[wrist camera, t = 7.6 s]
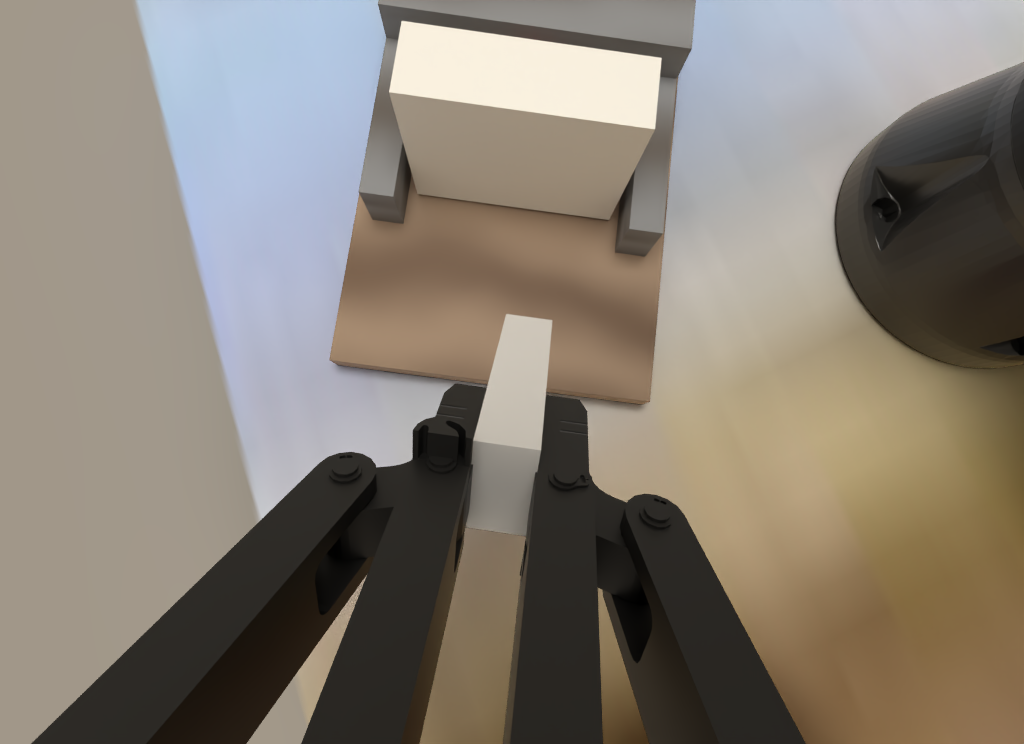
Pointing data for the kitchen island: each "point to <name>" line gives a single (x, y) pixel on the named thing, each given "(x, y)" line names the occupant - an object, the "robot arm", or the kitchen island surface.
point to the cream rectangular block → (521, 118)
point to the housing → (513, 228)
